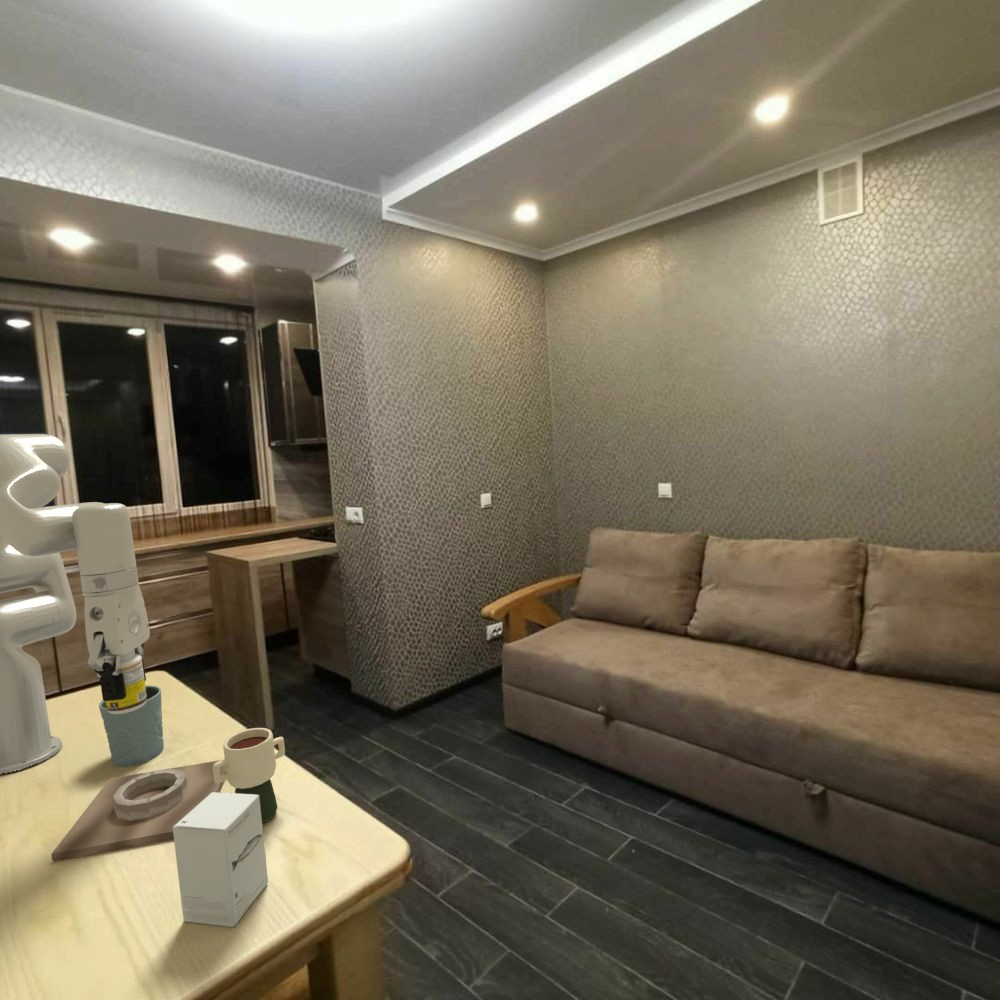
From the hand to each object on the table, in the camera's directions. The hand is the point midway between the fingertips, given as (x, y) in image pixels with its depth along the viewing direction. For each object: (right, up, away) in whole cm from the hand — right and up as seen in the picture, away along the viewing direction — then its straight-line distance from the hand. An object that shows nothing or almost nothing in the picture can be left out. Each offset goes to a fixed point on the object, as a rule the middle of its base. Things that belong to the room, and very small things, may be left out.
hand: (125, 690), depth 95 cm
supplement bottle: (0, -3, 0) cm, 3 cm away
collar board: (+4, -20, +2) cm, 20 cm away
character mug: (+22, -19, -3) cm, 30 cm away
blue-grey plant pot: (-10, -19, +19) cm, 29 cm away
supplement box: (+26, -21, -20) cm, 39 cm away
